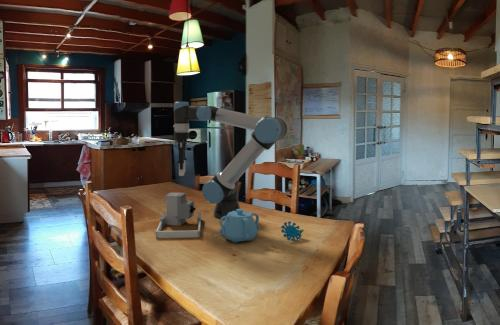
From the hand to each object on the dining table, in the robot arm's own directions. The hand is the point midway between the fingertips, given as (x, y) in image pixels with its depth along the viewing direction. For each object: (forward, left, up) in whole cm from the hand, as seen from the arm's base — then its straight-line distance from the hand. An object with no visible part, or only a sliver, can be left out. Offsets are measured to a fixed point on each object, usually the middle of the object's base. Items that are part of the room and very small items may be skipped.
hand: (182, 173), depth 212 cm
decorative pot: (-28, +37, -24) cm, 52 cm away
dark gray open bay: (0, +11, -24) cm, 26 cm away
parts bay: (0, +25, -24) cm, 35 cm away
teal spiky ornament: (-51, +39, -24) cm, 69 cm away
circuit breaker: (0, +11, -24) cm, 26 cm away
